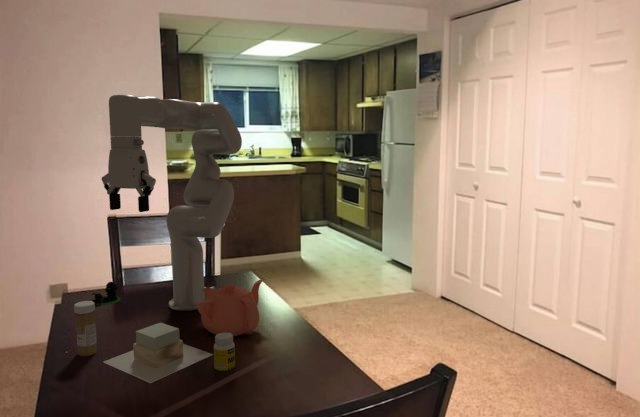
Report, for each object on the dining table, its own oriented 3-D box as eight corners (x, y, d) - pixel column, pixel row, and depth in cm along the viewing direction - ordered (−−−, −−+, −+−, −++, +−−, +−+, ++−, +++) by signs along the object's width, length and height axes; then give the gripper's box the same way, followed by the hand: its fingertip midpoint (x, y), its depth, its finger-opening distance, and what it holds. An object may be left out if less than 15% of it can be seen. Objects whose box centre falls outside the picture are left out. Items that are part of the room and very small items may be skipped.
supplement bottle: (230, 376, 118) (229, 340, 116) (211, 374, 119) (209, 338, 117) (238, 367, 122) (237, 332, 121) (219, 365, 123) (218, 331, 122)
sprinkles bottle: (74, 356, 128) (70, 303, 126) (92, 350, 132) (88, 298, 130) (83, 361, 125) (79, 307, 123) (101, 355, 129) (98, 302, 127)
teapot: (204, 323, 150) (203, 277, 148) (263, 321, 152) (263, 275, 150) (197, 345, 134) (195, 295, 133) (263, 343, 136) (262, 293, 134)
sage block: (161, 334, 129) (160, 322, 129) (179, 340, 125) (179, 328, 125) (136, 343, 123) (135, 331, 123) (154, 350, 119) (154, 338, 119)
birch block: (162, 348, 130) (161, 333, 130) (183, 356, 126) (182, 340, 125) (134, 359, 124) (133, 343, 123) (155, 368, 119) (154, 351, 119)
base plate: (166, 341, 137) (165, 337, 137) (213, 358, 127) (213, 354, 127) (102, 366, 123) (102, 361, 123) (150, 387, 113) (150, 383, 112)
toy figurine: (82, 304, 168) (80, 286, 167) (105, 295, 177) (104, 278, 176) (106, 307, 164) (105, 290, 164) (129, 298, 174) (128, 281, 173)
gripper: (163, 144, 135) (165, 210, 137) (112, 144, 142) (115, 206, 144) (142, 144, 128) (145, 214, 130) (89, 144, 135) (93, 210, 137)
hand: (129, 210), depth 137 cm, fingers open, 9 cm apart
